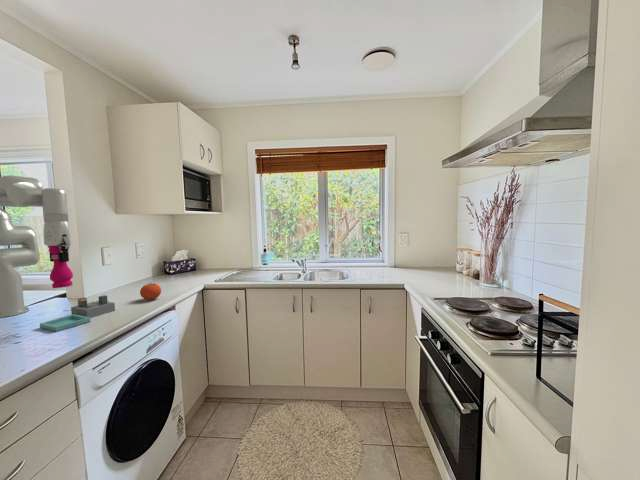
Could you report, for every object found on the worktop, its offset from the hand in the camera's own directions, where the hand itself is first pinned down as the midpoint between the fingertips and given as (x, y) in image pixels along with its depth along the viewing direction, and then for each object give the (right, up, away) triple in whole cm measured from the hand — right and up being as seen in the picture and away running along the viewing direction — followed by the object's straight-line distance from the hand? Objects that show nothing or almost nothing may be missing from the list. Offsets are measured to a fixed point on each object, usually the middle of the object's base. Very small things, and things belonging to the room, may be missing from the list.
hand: (59, 261), depth 117 cm
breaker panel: (0, -27, +17) cm, 32 cm away
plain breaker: (+4, -22, +19) cm, 29 cm away
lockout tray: (+1, -28, +2) cm, 28 cm away
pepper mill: (+1, -11, 0) cm, 11 cm away
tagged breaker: (-3, -23, +15) cm, 27 cm away
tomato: (+15, -25, +39) cm, 49 cm away
